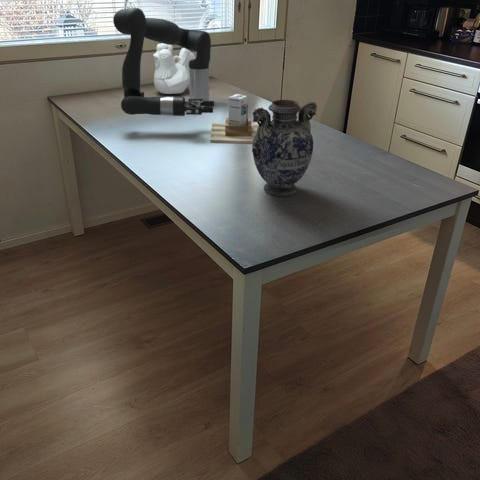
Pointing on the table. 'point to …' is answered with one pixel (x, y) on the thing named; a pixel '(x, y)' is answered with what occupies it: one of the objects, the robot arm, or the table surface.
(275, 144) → the decorative vase
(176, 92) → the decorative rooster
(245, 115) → the syrup box
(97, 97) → the table surface
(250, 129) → the socket board
